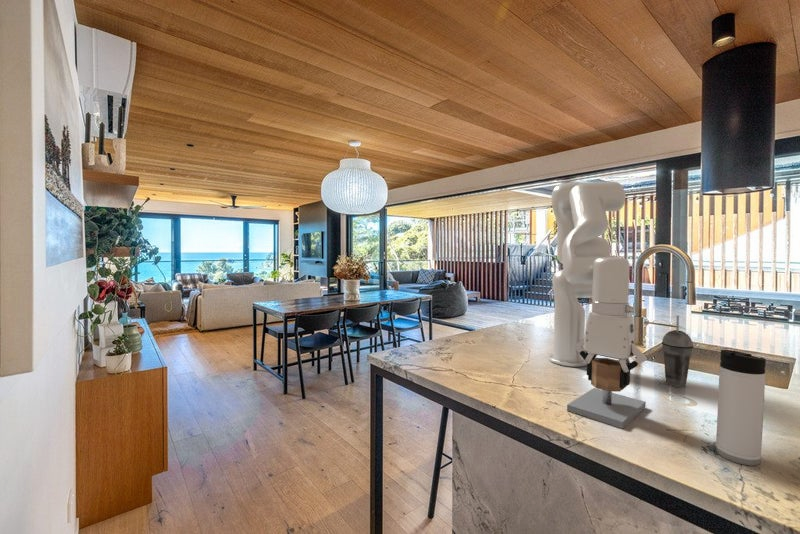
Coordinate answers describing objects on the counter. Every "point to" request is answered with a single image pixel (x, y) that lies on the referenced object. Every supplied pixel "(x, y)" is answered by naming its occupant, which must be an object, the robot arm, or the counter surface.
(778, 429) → the counter surface
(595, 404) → the rod board
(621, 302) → the robot arm
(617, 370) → the walnut bead
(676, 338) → the beverage cup
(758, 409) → the travel mug
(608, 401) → the metal rod
